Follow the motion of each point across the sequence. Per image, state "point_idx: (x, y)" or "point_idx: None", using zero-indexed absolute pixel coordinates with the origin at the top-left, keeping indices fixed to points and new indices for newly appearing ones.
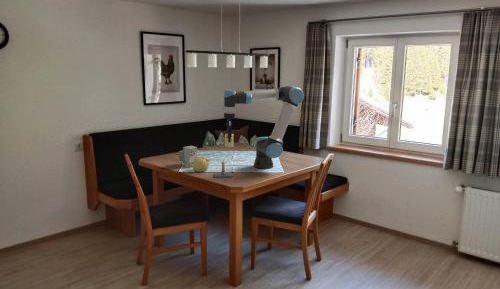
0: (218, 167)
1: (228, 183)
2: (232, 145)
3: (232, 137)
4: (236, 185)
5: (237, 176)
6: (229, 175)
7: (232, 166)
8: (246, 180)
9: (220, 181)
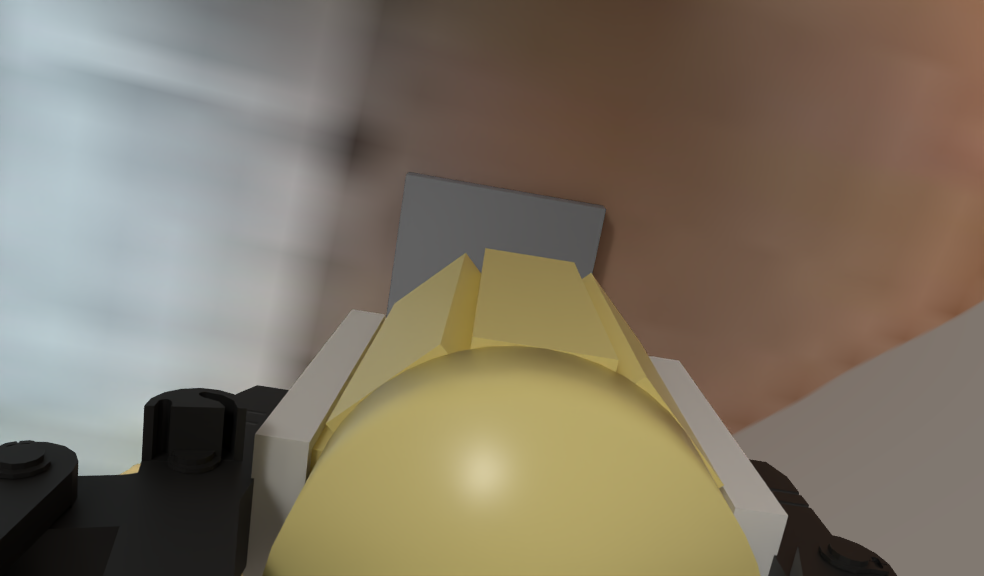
0: (63, 277)
1: (837, 311)
2: (620, 316)
3: (687, 435)
4: (954, 236)
5: (575, 122)
6: (580, 242)
7: (28, 59)
8: (800, 47)
9: (722, 384)
